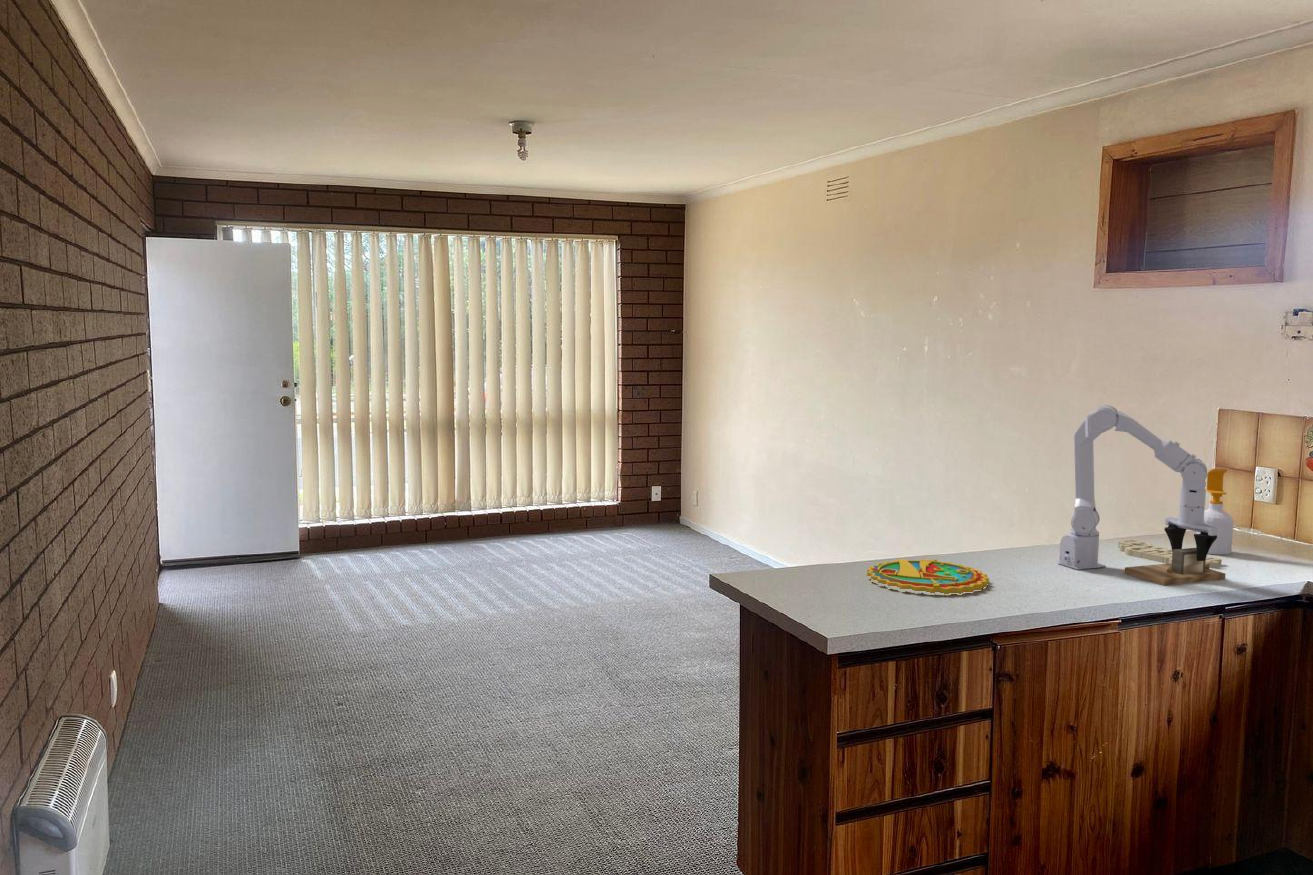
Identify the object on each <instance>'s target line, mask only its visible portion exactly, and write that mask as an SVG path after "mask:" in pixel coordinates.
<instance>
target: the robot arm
mask: <svg viewBox="0 0 1313 875" xmlns="http://www.w3.org/2000/svg"><path fill="white" fill-rule="evenodd" d="M1113 428H1115V429H1114V431H1116V432H1122V433H1127V434H1129V435H1131V436H1132V437H1134V438H1135V439H1137V440H1138V441H1139V442H1140V443H1141V442H1142V443H1143V444H1144V445H1146V446H1148V447H1149V448H1150V449H1152V450H1153V452H1154V457H1155V459H1157V461H1160V462H1161V463H1162V464H1164V465H1165V466H1166V467H1167V468H1170V469H1171V470H1172V471H1174V472H1175V473H1180V476H1181V478H1182V485H1181V487H1180V492H1179V496H1180V497H1179V508H1178V511H1179V512H1178V518H1177V517H1171V516H1170V517H1165V518H1164V519H1165V520H1164V522H1165V523H1164V525H1165V526H1167V527H1164V529H1163V530H1164V532H1165V534H1166V536H1167V537H1168V540H1169V544H1170V547H1171V548H1170V549H1172V552H1173V550H1174V549H1183V543H1184V537H1185V536H1186V535H1185V534H1186V532H1187V530H1188V531H1192V532H1200V533H1201V534H1196V533H1194V534H1193V537H1194V542H1195V546H1196V559H1197V561H1205V559H1206V556H1208V555H1209V554H1208V551H1209V549H1210V547H1211V545H1212V544H1213V542H1214V541H1215V540H1216V539H1217V532H1218V528H1216V527H1212V526H1210V525H1207V524H1205V522H1204V511H1206V510H1205V508H1206V497H1207V496H1206V494H1207V476H1208V467H1207V465H1206V464H1205V463H1204V462H1203V460H1202V459H1201V458H1196V457H1197V456H1196V455H1195V454H1194V453H1192V454H1191V453H1190V452H1188V451H1186V450H1185V449H1184V448H1182V447H1181V446H1180V442H1178V441H1176V440H1175V441H1174V442H1173V441H1172V440H1170V439H1167V440H1162V439H1161V438H1159V437H1158V436H1157V435H1155V434H1154V433H1152V432H1151V431H1150V430H1149V429H1147V428H1146V427H1145V426H1144V425H1142V424H1141V423H1139V422H1138V421H1137V420H1135V419H1134V418H1132V417H1131V416H1130V415H1128V414H1126V413H1125V412H1123V411H1121V410H1118V409H1116V407H1114V406H1112V405H1110V404H1109V405H1108V404H1105V405H1100V406H1099V407H1098V408H1096V409H1094V410H1093V411H1092V412H1091V413H1089V414H1088V415H1087V416H1086V417H1085V419H1084V420H1083V421H1082V423H1081V424H1080V426H1079V427H1078V428H1077V430H1076V431H1075V433H1074V438H1073V440H1074V478H1075V479H1074V480H1075V481H1074V482H1075V488H1074V490H1075V491H1074V492H1075V501H1074V513H1073V516H1072V518H1071V519H1070V520H1071V521H1070V525H1071V529H1070V532H1069V533H1068V534H1065V535H1063V536H1062V537H1061V539H1060V543H1059V544H1060V545H1059V561H1057V564H1058V565H1062V566H1065V567H1069V568H1071V569H1075V570H1086V569H1087V570H1088V569H1099V568H1106V565H1105V564H1102V563H1099V549H1100V548H1099V545H1100V531H1098V530H1097V526H1098V524H1099V523H1100V514H1099V512H1098V511H1097V508H1096V500H1095V464H1094V463H1095V461H1094V460H1095V459H1094V442H1095V440H1096V439H1097V438H1098V437H1099V436H1100V435H1101V434H1103V433H1105V432H1107V431H1109V430H1111V429H1113Z"/></svg>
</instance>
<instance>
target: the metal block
mask: <svg viewBox="0 0 1313 875" xmlns="http://www.w3.org/2000/svg"><path fill="white" fill-rule="evenodd" d="M1205 563H1206V559H1205V561H1197V559H1196V548H1195V547H1191V548H1190V547H1189V548H1188V547H1186V548H1182V549H1174V550H1173V552H1172V572H1174V573H1177V574H1191V573H1201V572H1205Z"/></svg>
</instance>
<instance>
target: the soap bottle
mask: <svg viewBox="0 0 1313 875" xmlns="http://www.w3.org/2000/svg"><path fill="white" fill-rule="evenodd" d="M1227 472H1228V469H1225V468H1211V469H1209V470H1207V473H1208V476H1207V478H1206V493H1207V492H1208V493H1209V494H1211V495H1210V496H1211V497H1212V500H1209V505H1208V509H1206V510H1205V511H1204V522H1205V524H1207V525H1210V526H1212V527H1216V528H1218V532H1217V539H1216V540H1215V541H1214V542H1213V544H1212V545H1211V547H1210V549H1209V551H1208V554H1207V555H1212V556H1213V555H1215V556H1227V555H1230V554H1231V553H1232V549H1233V547H1232V546H1233V535H1234V534H1233V532H1234V531H1233V530H1234V519H1233V516H1231V514H1230V513H1228V512H1227V511H1225V510H1224V508H1223V506H1224V504H1223V503H1224V502H1223V501H1221V500H1220V499H1221V498H1222V497H1223V495H1227V492H1225V491H1224V489H1223V487H1224V476H1225V475H1224V474H1225V473H1227ZM1195 532H1196V531H1195ZM1195 534H1201V533H1200V532H1196V533H1195ZM1194 548H1196V545H1195V547H1194Z"/></svg>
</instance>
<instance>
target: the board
mask: <svg viewBox="0 0 1313 875" xmlns="http://www.w3.org/2000/svg"><path fill="white" fill-rule="evenodd" d="M1123 570H1124V574H1125V575H1129V576H1132V577H1135V578H1138V579H1141V580H1144V581H1148V582H1151V583H1154V584H1158V585H1159V586H1160V585H1161V586H1170V585H1171V586H1172V585H1184V584H1193V583H1194V584H1195V583H1203V582H1211V581H1212V582H1213V581H1214V582H1215V581H1223V580H1226V572H1221V571H1218V570H1216V569H1215V570H1214V569H1212V568H1210V564H1209V563H1205V572H1201V573H1191V574H1177V573H1174V572H1172V563H1168V564H1166V563H1158V564H1147V565H1137V566H1135V565H1134V566H1127V567H1124V569H1123Z"/></svg>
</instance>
